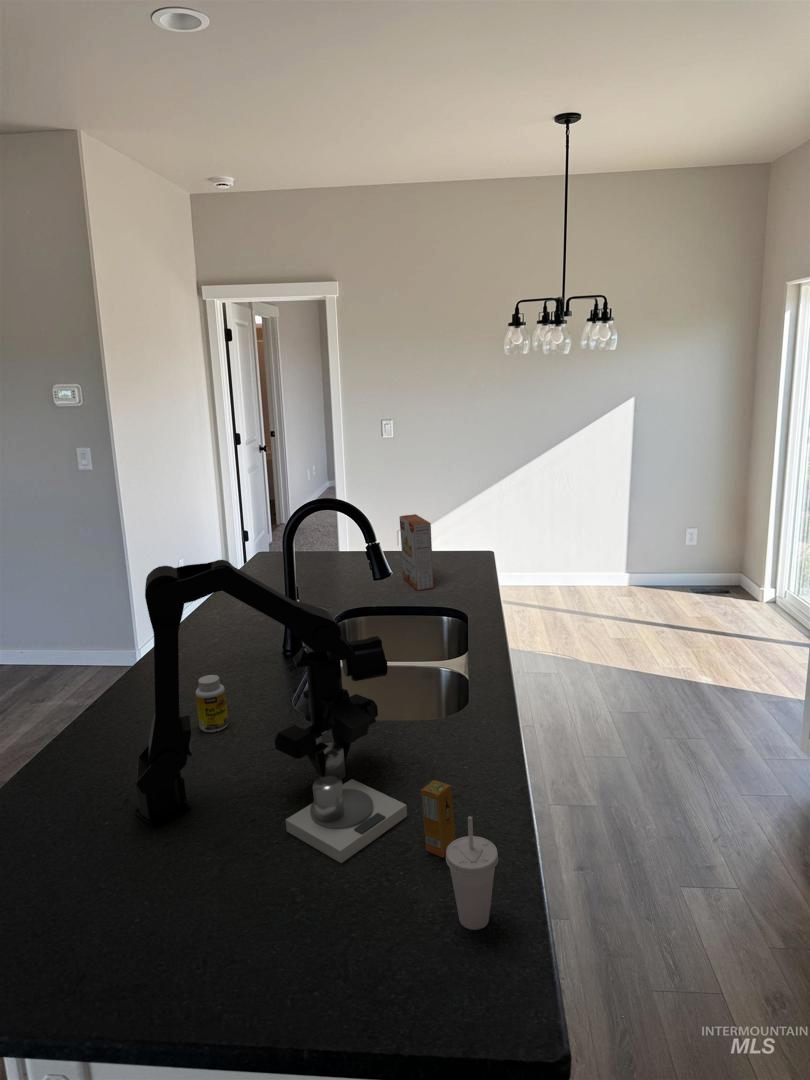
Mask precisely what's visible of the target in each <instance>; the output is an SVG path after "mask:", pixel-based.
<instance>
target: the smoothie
mask: <svg viewBox="0 0 810 1080" xmlns="http://www.w3.org/2000/svg"><path fill="white" fill-rule="evenodd" d="M473 824H474V823H473V816H470V815H469V816H468V817H467V829H468V831H467V832H468V836H462V837H459V838H455V839H456V840H454V841H453V842H452V843H450V844H449V846H448V847H447V850H446V856H445V861H446V864H447V866H448V867H449V870H450V875H451V881H452V887H453V892H454V897H455V903H456V908H457V913H458V919H459V923H460V924H461V925H462V927H464V928H465V929H468V930H471V931H473V930H474V931H475V930H476V931H477V930H481V929H483V928H485V927H486V926H487V925H488V924H489V922H490V921H489V920H490V915H491V914H490V912H491V903H492V895H493V888H494V887H493V886H494V876H495V868H496V866H497V865H498V863H499V855H498V849H497V847H496V845H495V844H494V843H493V842H492V841H491V840H488V839H487V838H484V837H482V836H475V835H474V829H473V827H474V825H473Z"/></svg>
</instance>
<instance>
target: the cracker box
mask: <svg viewBox="0 0 810 1080" xmlns="http://www.w3.org/2000/svg"><path fill="white" fill-rule="evenodd" d="M399 531H400V545H401V558H402V560H401V561H402V577H403V580H405V582H407V583H408V584H409V585H410V586H411V587H413V588H414V589H415V590H416V591H417V590H419V591H423V590H430V589H434V588H435V584H434V583H435V581H434V566H433V564H434V563H433V546H432V543H433V542H432V526H431V522H429V521H428V520H426V519H424V518H422V516H419V515H418V514H415V513H414V514H406V515H400V516H399Z"/></svg>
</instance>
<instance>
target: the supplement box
mask: <svg viewBox="0 0 810 1080" xmlns="http://www.w3.org/2000/svg"><path fill="white" fill-rule="evenodd" d="M420 792H421V793H420V794H421V806H422V816H423V817H422V818H423V828H424V829H423V831H424V839H425V849H426V850H425V851H426V852H428V853H431V854H433V855H435V856H437V857H439V858H442V859H444V858H446V850H447V847H448V846H449V844H450V843H452V842H453V841H454V840H456V839H457V838H456V829H455V828H456V827H455V826H456V825H455V816H454V800H453V789H452V785H451V784H447V783H444V782H441V781H439V780H435V779H434V780H432V781H431V782H429V783H428V784H427V785H425V786H424V787H423V788H422V789H420Z"/></svg>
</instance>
